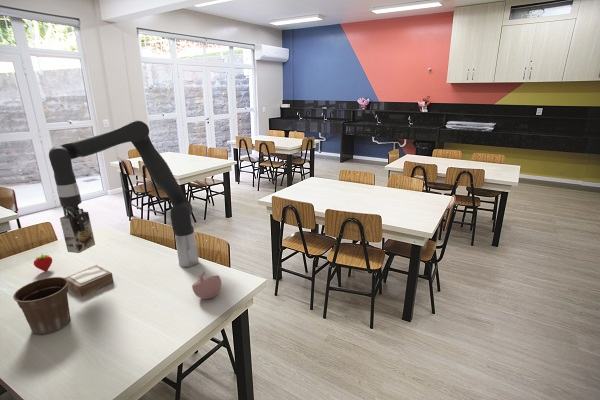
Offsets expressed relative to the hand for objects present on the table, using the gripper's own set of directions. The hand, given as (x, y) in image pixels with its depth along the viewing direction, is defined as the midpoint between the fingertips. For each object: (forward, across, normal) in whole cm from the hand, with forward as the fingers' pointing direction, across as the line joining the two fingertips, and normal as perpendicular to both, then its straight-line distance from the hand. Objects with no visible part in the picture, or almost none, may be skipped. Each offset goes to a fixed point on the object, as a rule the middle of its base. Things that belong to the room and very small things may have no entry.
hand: (77, 229), depth 144 cm
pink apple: (+28, -54, -23) cm, 65 cm away
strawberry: (+28, +33, +6) cm, 44 cm away
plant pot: (+28, -17, +22) cm, 40 cm away
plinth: (+28, 0, 0) cm, 28 cm away
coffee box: (+10, 0, 0) cm, 10 cm away
